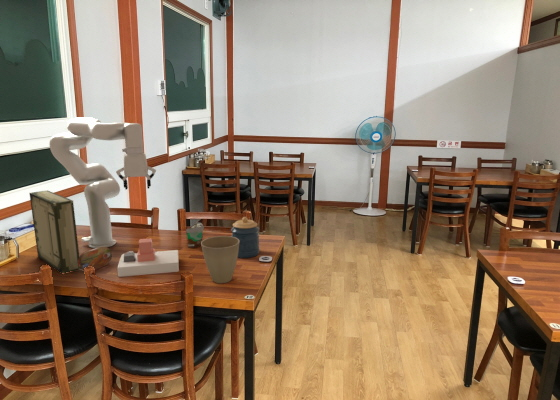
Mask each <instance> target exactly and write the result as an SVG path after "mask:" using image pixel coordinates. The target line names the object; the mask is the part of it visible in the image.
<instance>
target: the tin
mask: <svg viewBox="0 0 560 400" xmlns="http://www.w3.org/2000/svg"><path fill="white" fill-rule="evenodd" d="M112 253H113V252H112V250H111V248H109V247H98V248H91V249H90V250H86V251H84V252H81V254H79V258H78V266H79V268H80V269H81V271H84V268H85V267H88V266H92V267H94V268H95V270H98V269H100V268H103V267H106V266H107V265H109V263H111V260H112V258H113V254H112Z"/></svg>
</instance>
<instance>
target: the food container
mask: <svg viewBox="0 0 560 400" xmlns="http://www.w3.org/2000/svg"><path fill="white" fill-rule="evenodd" d="M194 223H195V224H193V225H191V226H190V227H189V228H188V227H187V228H186V230H185V233H186V238H187V248H189V249H191V248H198V247H199V248H200V247H202V246H201V242H202V241H203V231H204V229H205V227H204V225H203V223H202V222H198V221H197V222H194Z"/></svg>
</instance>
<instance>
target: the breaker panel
mask: <svg viewBox="0 0 560 400" xmlns="http://www.w3.org/2000/svg"><path fill="white" fill-rule="evenodd" d="M132 252H134V251H133V250H129V251H127V253H132ZM124 254H125V253H123V254H121V256H120V259H119V262H118V265H117V276H118V277H121V278H122V277H132V276H141V275H142V276H143V275H153V274H154V275H155V274H156V275H157V274H165V273H177V272H179V271H180V269H179V268H180V266H179V265H180V264H179V250H178V249H174V250H163V251H162V250H160V251H155V261H143V262H138V259H137V254H138V252H137V253H136V252H135V261H134V262H124Z"/></svg>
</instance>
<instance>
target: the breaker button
mask: <svg viewBox="0 0 560 400" xmlns="http://www.w3.org/2000/svg"><path fill="white" fill-rule="evenodd" d="M135 253H136V252H135V251H133V252H132V253H128V252H124V253H123V254H124V262H134V261H135Z"/></svg>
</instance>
